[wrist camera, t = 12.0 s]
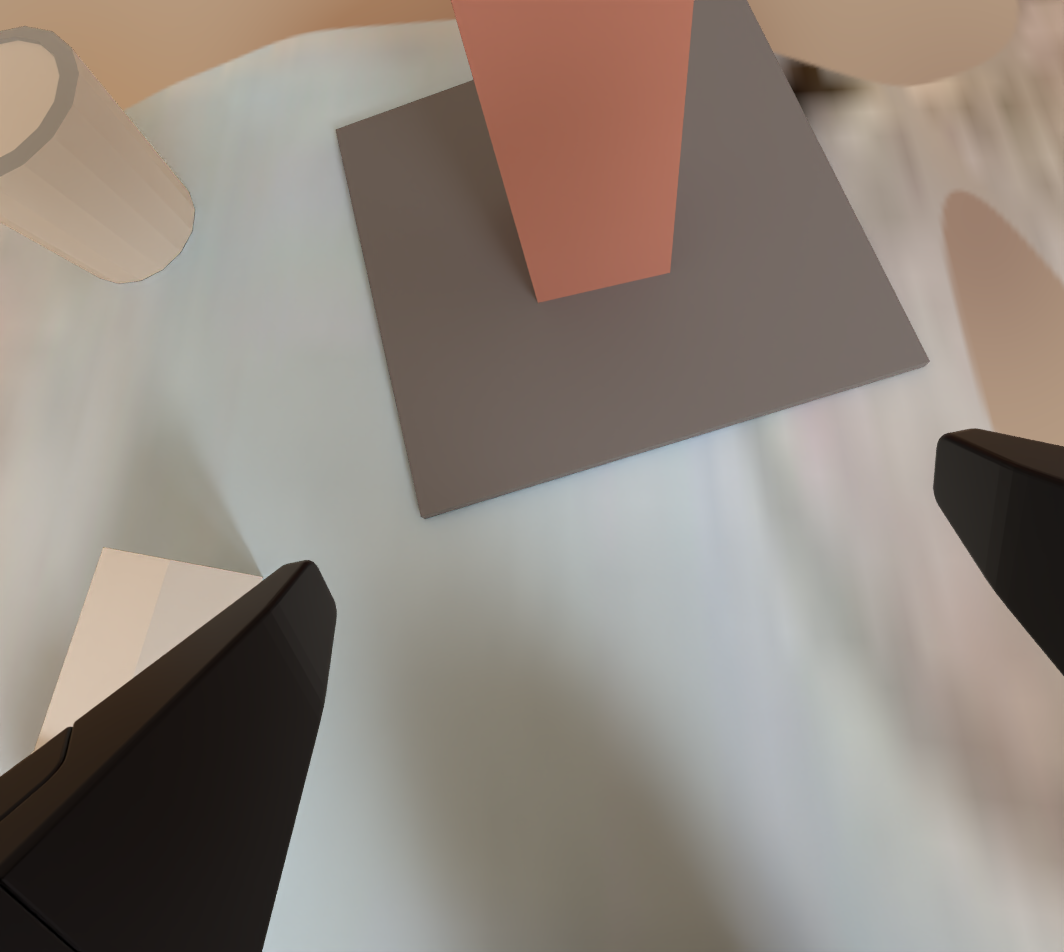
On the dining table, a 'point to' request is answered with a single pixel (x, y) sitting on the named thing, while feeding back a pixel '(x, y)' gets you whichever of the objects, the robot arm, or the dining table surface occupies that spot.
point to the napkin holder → (134, 625)
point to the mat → (616, 286)
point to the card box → (584, 130)
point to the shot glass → (82, 166)
